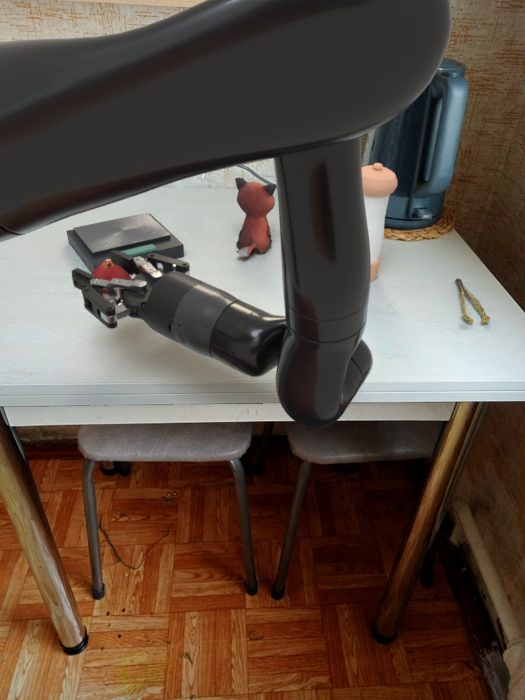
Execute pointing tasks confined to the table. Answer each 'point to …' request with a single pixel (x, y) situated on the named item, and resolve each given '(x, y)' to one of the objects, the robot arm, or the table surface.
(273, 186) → the stuffed fox
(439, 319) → the table surface
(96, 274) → the onion
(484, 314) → the tongs
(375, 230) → the pepper shaker
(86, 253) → the scale
